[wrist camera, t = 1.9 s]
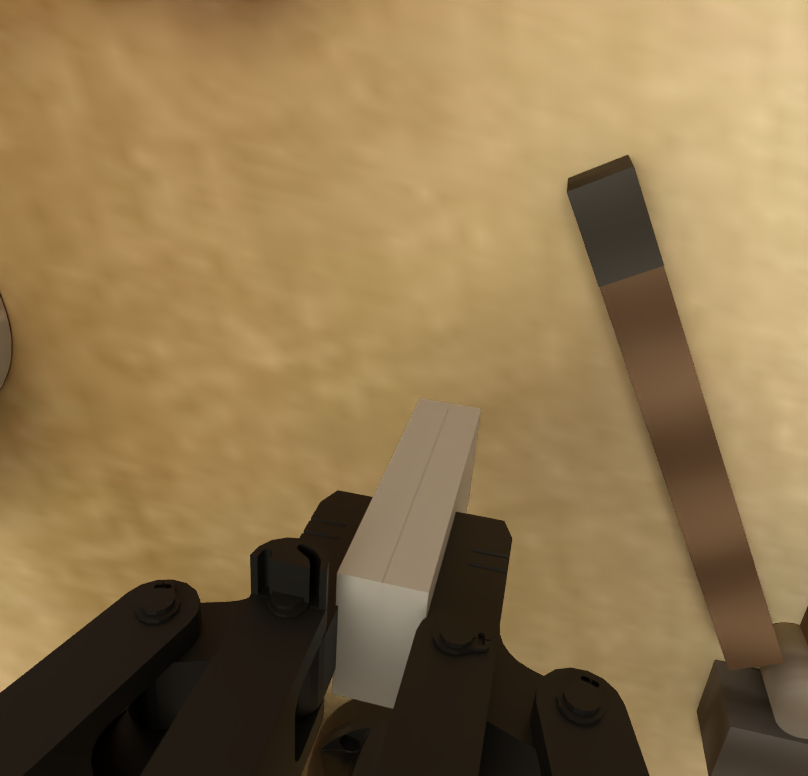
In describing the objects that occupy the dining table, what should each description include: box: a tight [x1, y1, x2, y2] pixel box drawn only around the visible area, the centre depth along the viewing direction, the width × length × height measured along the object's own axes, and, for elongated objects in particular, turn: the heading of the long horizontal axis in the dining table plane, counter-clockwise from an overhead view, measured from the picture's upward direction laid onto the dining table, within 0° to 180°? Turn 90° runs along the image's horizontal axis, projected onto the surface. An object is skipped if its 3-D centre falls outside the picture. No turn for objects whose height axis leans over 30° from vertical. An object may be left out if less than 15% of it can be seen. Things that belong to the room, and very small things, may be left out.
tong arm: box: [567, 155, 784, 670], centre depth 32 cm, size 24×2×4 cm, turn 24°
